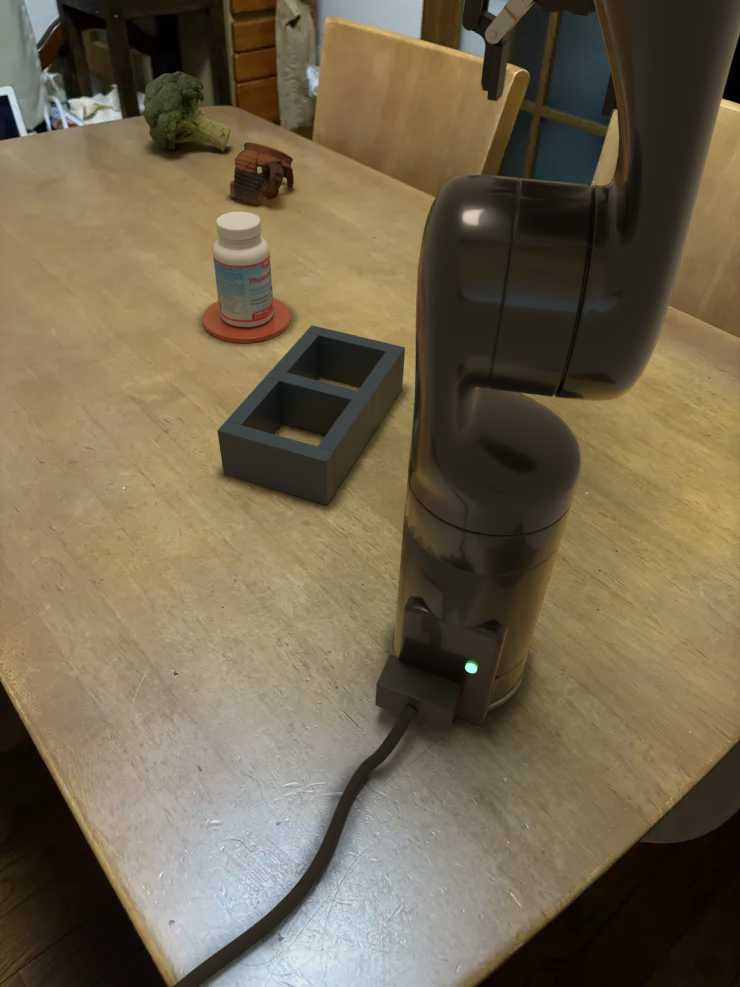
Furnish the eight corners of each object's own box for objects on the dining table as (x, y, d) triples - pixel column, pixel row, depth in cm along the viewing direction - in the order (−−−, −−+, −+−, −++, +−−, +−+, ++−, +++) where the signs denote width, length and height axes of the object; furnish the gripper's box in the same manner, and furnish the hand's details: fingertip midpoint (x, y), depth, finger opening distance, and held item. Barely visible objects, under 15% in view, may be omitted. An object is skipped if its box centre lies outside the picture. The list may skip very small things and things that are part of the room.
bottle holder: (327, 505, 65) (326, 461, 61) (223, 474, 67) (216, 430, 64) (402, 388, 77) (405, 347, 74) (312, 366, 80) (311, 324, 77)
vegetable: (214, 155, 119) (124, 104, 115) (210, 189, 131) (129, 143, 128) (247, 92, 120) (159, 39, 117) (240, 131, 133) (161, 84, 129)
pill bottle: (265, 332, 84) (257, 235, 76) (212, 325, 84) (200, 228, 77) (280, 306, 88) (274, 211, 80) (230, 299, 89) (220, 205, 81)
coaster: (265, 351, 82) (265, 346, 82) (186, 331, 84) (185, 326, 84) (305, 309, 89) (305, 304, 88) (230, 292, 91) (230, 287, 91)
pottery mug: (216, 194, 114) (229, 137, 112) (271, 213, 120) (284, 159, 118) (248, 200, 105) (262, 139, 103) (305, 220, 111) (320, 162, 108)
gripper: (470, -191, 44) (444, 106, 55) (723, -180, 41) (641, 136, 52) (502, -191, 49) (472, 81, 61) (729, -182, 46) (653, 106, 57)
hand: (550, 106), depth 56 cm, fingers open, 8 cm apart
